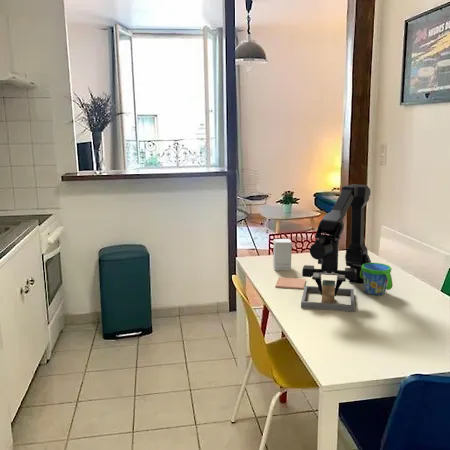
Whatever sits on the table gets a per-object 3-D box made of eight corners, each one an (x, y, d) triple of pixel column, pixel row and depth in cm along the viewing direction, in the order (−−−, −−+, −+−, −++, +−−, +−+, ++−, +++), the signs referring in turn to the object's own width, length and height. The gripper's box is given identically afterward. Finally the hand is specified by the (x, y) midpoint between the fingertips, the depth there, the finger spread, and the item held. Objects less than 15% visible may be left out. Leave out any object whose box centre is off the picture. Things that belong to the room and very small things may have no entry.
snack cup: (399, 297, 179) (401, 270, 177) (374, 300, 176) (376, 273, 174) (374, 284, 193) (376, 259, 191) (351, 287, 190) (352, 262, 188)
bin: (353, 294, 183) (353, 289, 182) (354, 311, 165) (354, 306, 165) (304, 290, 187) (304, 285, 186) (300, 307, 169) (301, 302, 169)
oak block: (334, 299, 178) (335, 280, 176) (334, 303, 173) (335, 284, 172) (322, 298, 179) (322, 279, 177) (321, 302, 174) (322, 283, 173)
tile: (305, 280, 199) (305, 279, 198) (303, 289, 188) (303, 287, 188) (278, 278, 201) (278, 277, 201) (275, 287, 191) (275, 285, 190)
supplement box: (291, 270, 212) (292, 242, 210) (274, 270, 212) (274, 242, 210) (289, 265, 220) (290, 238, 217) (273, 265, 220) (273, 238, 217)
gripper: (356, 249, 178) (354, 289, 181) (304, 246, 182) (303, 286, 185) (357, 257, 167) (355, 300, 171) (302, 254, 172) (301, 296, 175)
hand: (328, 295), depth 176 cm, fingers closed on oak block, 4 cm apart
